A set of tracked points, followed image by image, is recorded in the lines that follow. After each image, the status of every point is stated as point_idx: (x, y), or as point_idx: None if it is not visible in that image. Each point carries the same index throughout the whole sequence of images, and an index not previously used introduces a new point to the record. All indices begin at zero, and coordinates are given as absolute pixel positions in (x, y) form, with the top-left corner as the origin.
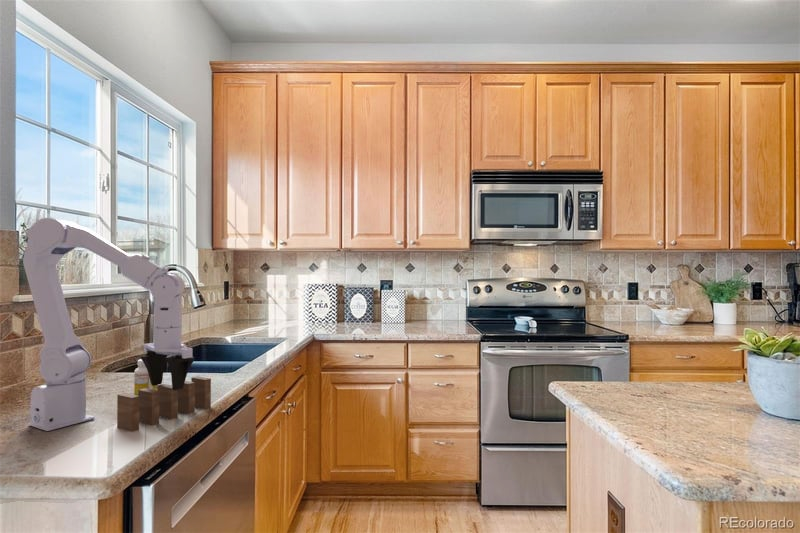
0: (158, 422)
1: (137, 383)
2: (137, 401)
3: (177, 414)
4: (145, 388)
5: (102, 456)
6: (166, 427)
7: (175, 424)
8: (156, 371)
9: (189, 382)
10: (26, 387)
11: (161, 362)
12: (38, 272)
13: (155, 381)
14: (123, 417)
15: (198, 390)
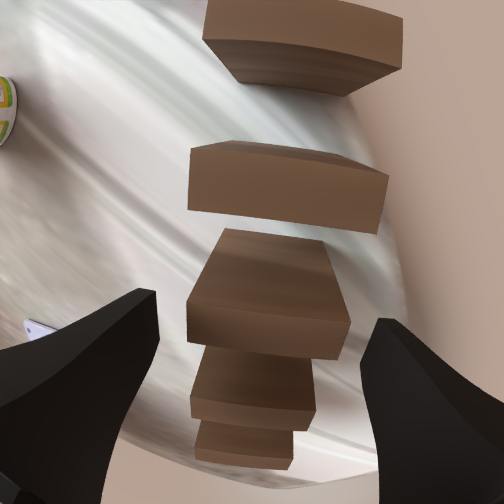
0: None
1: None
2: (292, 446)
3: (323, 247)
4: (197, 398)
5: (346, 450)
6: (361, 330)
7: (370, 300)
8: (114, 384)
9: (343, 189)
10: None
11: (67, 407)
12: None
13: (149, 344)
14: None
15: (299, 68)
